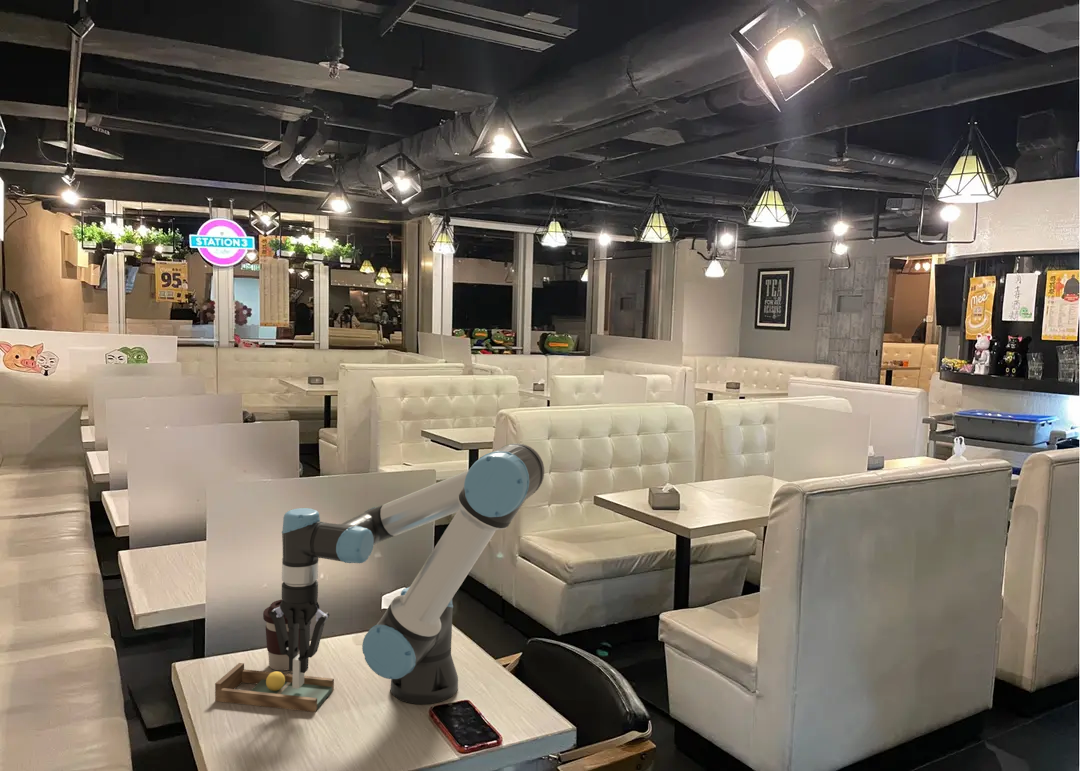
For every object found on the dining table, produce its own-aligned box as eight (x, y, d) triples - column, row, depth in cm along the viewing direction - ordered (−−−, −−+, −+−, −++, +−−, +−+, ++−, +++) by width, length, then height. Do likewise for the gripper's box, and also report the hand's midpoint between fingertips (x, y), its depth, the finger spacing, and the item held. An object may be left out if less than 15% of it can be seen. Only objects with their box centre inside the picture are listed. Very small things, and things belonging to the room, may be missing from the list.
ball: (268, 677, 175) (282, 688, 175) (259, 686, 171) (273, 697, 171) (277, 664, 174) (291, 675, 174) (268, 672, 171) (282, 684, 170)
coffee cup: (275, 653, 193) (275, 594, 192) (313, 657, 192) (314, 598, 190) (255, 671, 183) (255, 609, 182) (295, 676, 182) (296, 613, 181)
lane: (333, 689, 176) (333, 672, 176) (315, 712, 166) (315, 694, 166) (239, 679, 179) (239, 662, 179) (215, 701, 169) (215, 683, 169)
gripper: (335, 577, 172) (333, 680, 175) (279, 572, 174) (278, 674, 177) (321, 589, 165) (319, 697, 167) (263, 584, 167) (261, 690, 169)
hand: (298, 685), depth 172 cm, fingers closed
